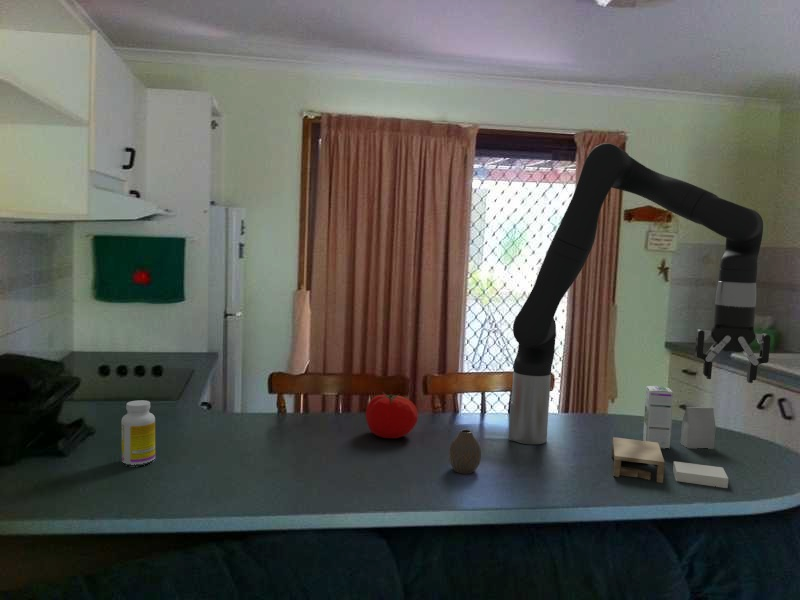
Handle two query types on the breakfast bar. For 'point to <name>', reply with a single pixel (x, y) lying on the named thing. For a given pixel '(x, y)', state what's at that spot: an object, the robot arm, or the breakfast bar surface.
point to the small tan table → (637, 457)
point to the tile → (700, 474)
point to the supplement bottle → (138, 433)
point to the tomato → (391, 416)
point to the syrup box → (658, 415)
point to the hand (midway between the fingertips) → (728, 380)
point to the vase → (465, 453)
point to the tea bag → (698, 428)
